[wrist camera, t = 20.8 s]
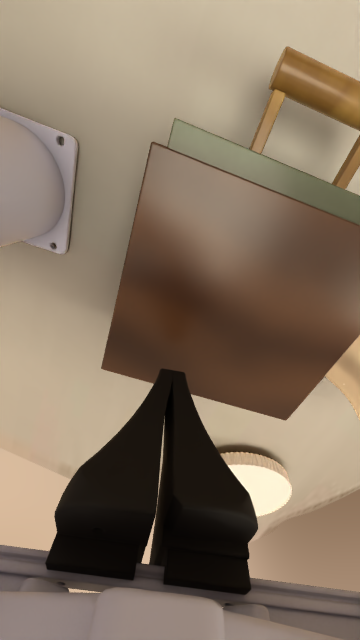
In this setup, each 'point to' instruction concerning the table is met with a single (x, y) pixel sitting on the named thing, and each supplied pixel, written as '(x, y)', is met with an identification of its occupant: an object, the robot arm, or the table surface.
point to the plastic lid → (260, 480)
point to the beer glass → (348, 375)
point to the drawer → (287, 81)
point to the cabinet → (233, 287)
